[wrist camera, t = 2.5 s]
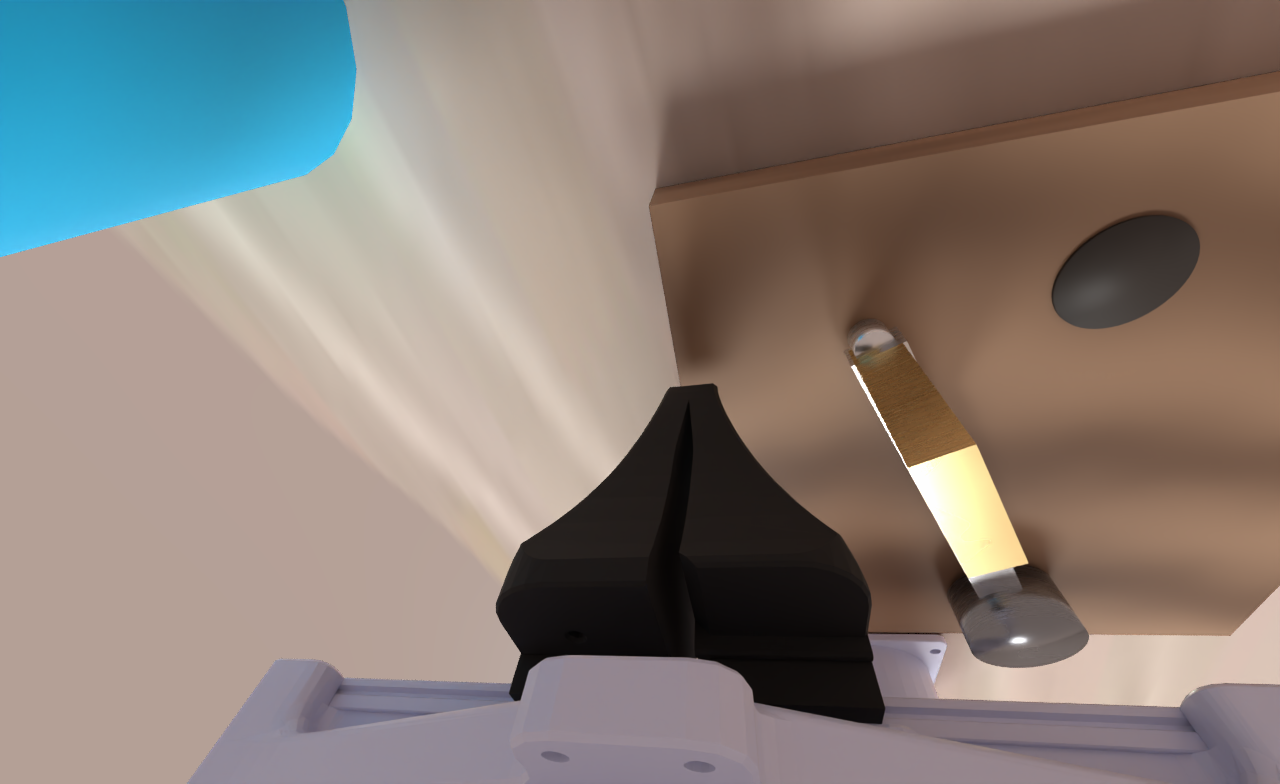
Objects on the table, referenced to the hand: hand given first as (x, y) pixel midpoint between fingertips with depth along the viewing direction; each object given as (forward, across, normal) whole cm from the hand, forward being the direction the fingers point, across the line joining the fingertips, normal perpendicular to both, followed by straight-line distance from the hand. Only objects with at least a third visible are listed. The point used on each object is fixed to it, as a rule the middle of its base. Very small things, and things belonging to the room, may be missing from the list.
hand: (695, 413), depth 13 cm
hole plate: (+3, -10, +4) cm, 11 cm away
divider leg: (+1, -8, +5) cm, 10 cm away
